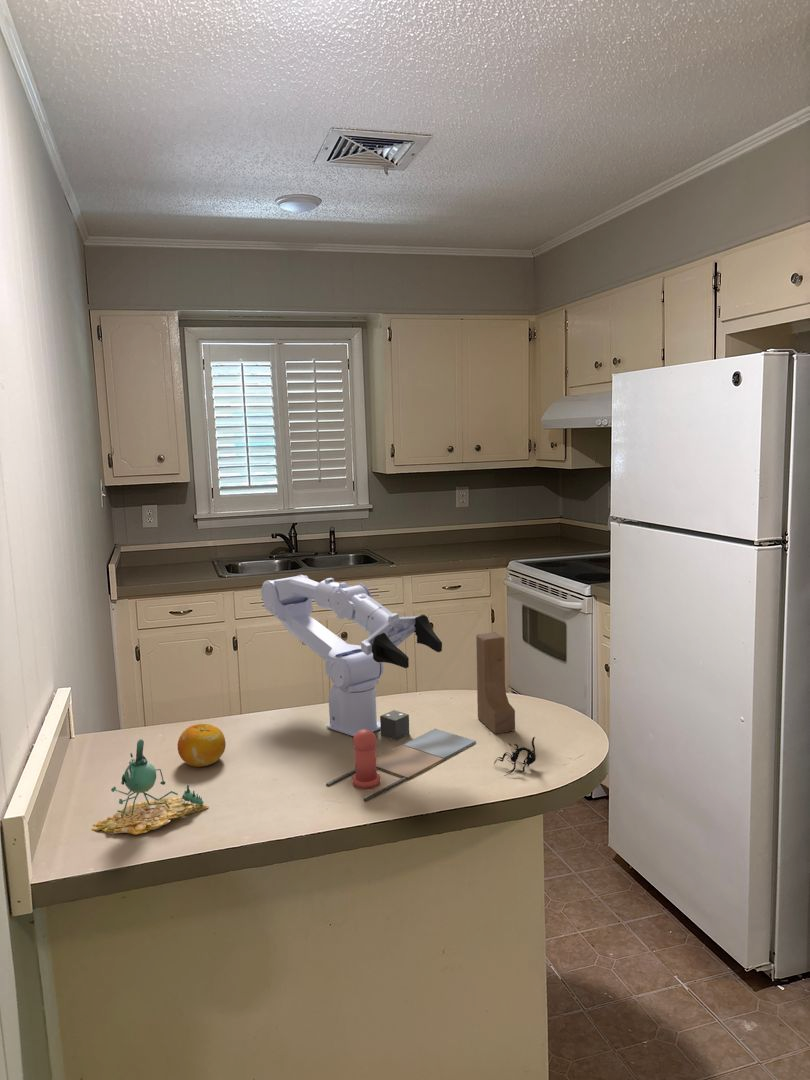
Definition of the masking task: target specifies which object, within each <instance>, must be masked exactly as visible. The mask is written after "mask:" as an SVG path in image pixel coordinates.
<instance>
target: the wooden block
mask: <svg viewBox="0 0 810 1080" xmlns="http://www.w3.org/2000/svg"><path fill="white" fill-rule="evenodd" d="M475 637H476V642H475V643H476V687H477V688H476V689H477V691H476V693H477V697H476V698H477V699H476V700H477V701H476V702H477V719H478V720H479V721H480V722H481V723H482V724H484V726H485V727H487V728H488V730H490V731H491V732H493V733H494V734H495V735H496V734H503V733H510V732H515V731H516V710H515V708H514V707H513V706H512V705H511V704H510V702H509V699H508V696H507V690H506V664H505V662H506V660H505V659H506V658H505V656H506V655H505V654H506V653H505V651H506V650H505V648H506V647H505V645H506V644H505V642H506V641H505V637H504V636H502V635H501V634H499V633H497V632H487V633H480V634H476V636H475Z"/></svg>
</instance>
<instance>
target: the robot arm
mask: <svg viewBox="0 0 810 1080" xmlns="http://www.w3.org/2000/svg"><path fill="white" fill-rule="evenodd" d="M260 595H261V599H262V603H263V607H264V608H265V610H266V611H267V612H269V613H270V614H271V615H273V616H274V617H275V618H276V619H278V620H279V621H280V622H281V624H282V625H283V626H284V627H285V629H286V630H287V631H288V632H289V633H290V634H291V635H293V636H294V637H295V638H296V639H297V640H299V641H300V642H302V643H303V644H304V645H305V646H306V647H308V648H309V649H310V650H311V651H313V652H314V653H315V654H316V655H317V656H319V657H320V658H321V659H323V660H324V661H325V663H324V665H325V666H324V667H325V668H324V669H325V674H326V675H327V676H328V677H329V678H330V680H331V682H332V684H333V685H332V687H331V688H330V690H329V694H328V712H329V714H328V715H329V716H328V717H329V724H326V727H327V729H329V730H330V729H331V730H333V731H337V732H340V733H342V734H344V735H345V734H346V735H348V736H352V737H354V736H355V734H356V733H357V732H358V731H360V730H362V729H367V730H370V731H372V732H373V733H374V732H376V731H379V730H381V726H380V721H378V719H377V718H378V717H377V716H378V715H377V697H376V696H377V695H376V694H377V691H376V686H377V685H378V684H379V680H380V679H381V678H382V676H383V674H384V665H385V664H384V663H387V664H392V665H395V666H397V667H401V668H404V669H408V668H409V666H410V663H409V657H408V656H407V654H406V653H404V652H403V651H402V650H401V649H400V648H399V647H398V646H400V645H401V644H402V643H403V642H404V641H405V640H407V639H408V638H409V637H410V636H411V635H413V634H414V633H415V634H414V635H415V636H416V644H421V645H424V646H426V647H428V648H430V649H432V651H434V652H436V653H441V652H442V651H443V642H442V641H441V639H440V638H439V636H437V634H436V633H435V631H434V629H433V628H432V626H431V623H430V618H429V617H428V616H427V615H425V614H420V615H415V616H400V614H399V613H397V612H394V613H393V612H392V611H391V610H389V609H388V608H386V607H385V606H384V605H382V604H381V603H380V602H378V601H377V600H376V599H374V598H373V597H372V594H371V591H370V589H369V588H368V587H367V586H366V585H364V584H362V583H358V584H356V585H352V586H351V585H349V584H348V583H347V582H344V581H343V582H337V581H335V578H333V577H328V578H325V579H323V580H322V581H320V582H319V581H315V580H313V579H310V578H309V576H308V575H303V574H298V575H296V576H291V577H290V576H289V577H285V578H279V579H273V580H272V579H271V580H269V579H268V580H265V581H263V583H262V586H261V589H260ZM313 600H314V602H315V604H316V605H317V606H318V607H321V608H323V609H327V610H329V611H332V612H334V613H335V614H336V617H337V618H338V619H340V620H343V619H347V620H349V621H353V622H354V623H356V624H357V625H358V627H360V628H362V629H363V630H364V631H366V632H367V633H368V634H370V635H369V636H368V637H367V638H366V639H365V638H364V640H362V641H361V642H360V645H359V644H358V645H357V644H352V643H351V644H349V643H348V642H346V641H345V640H343V639H342V638H340V637H339V636H338V635H336V634H335V633H334V632H332V631H331V630H330V629H328V628H327V627H326V626H324V624H321V623H320V622H319V621H317V620H316V619H315V618H313V617H312V616H310V615H311V614H312V613H313V612H314V610H313Z"/></svg>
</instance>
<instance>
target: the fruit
mask: <svg viewBox="0 0 810 1080" xmlns="http://www.w3.org/2000/svg"><path fill="white" fill-rule="evenodd" d="M226 745H227V742H226V738H225V735H224V732H223V731H222V730H221V729H220V728H218V727H217V726H215V725H212V724H209V723H199V724H193V725H190V726H189V727H187V728H185V730H184V731H182V733H181V734H180V736H179V737H178V742H177V752H178V755H179V757H180V759H181V760H182V761H183V762H184V763H185V764H186V765H188V766H190V767H196V768H200V767H201V768H202V767H207V766H210V765H214V763H216V762H218V761H219V760H220V758H221V757H222V756H223V754H224V753H225V750H226Z"/></svg>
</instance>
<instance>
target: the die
mask: <svg viewBox="0 0 810 1080" xmlns="http://www.w3.org/2000/svg"><path fill="white" fill-rule="evenodd" d="M379 720H380V721H379V722H380V726H381V729H380V736H381V737H385V738H388V739H391V740H393V741H397V740H399V739H402V738H404V737H406V736H408V735H410V715H409V714H408V713H404V712H403V711H402V712H401V711H399V710H395V709H393V710H391V711H389V712H386V713H384V714H382V715H380V716H379Z"/></svg>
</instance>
